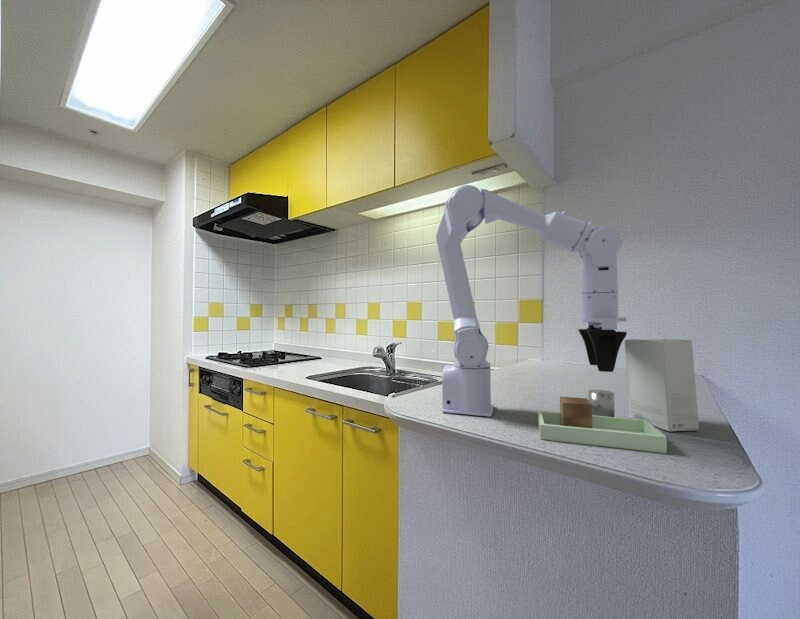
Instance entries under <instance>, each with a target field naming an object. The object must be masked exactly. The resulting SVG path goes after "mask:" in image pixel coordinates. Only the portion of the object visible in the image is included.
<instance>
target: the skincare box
mask: <svg viewBox="0 0 800 619" xmlns="http://www.w3.org/2000/svg"><path fill="white" fill-rule="evenodd" d="M624 352H625V364H626V378H627V379H626V380H627V396H628V397H627V398H628V411H629V418H630V419H642V420H647V421H648V422H649V423H650V424H651V425H653V426H654V427H655V428H658V429H661V430H664V431H667V432H677V431H678V432H679V431H680V432H689V431H690V432H691V431H699V428H700V423H699V410H698V399H697V386H696V377H695V376H696V375H695V365H694V364H695V363H694V352H693V341H692V339H682V338H681V339H676V338H674V339H673V338H648V337H647V338H635V339H633V338H629V339H624Z"/></svg>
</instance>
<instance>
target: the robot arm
mask: <svg viewBox="0 0 800 619" xmlns="http://www.w3.org/2000/svg"><path fill="white" fill-rule="evenodd" d="M570 214H571V213H570V212H569V211H567V210H563V211H562V212H558V211H554V212H551V213H548V214H545V213H541V212H540V211H537V210H535V209H532V208H530V207H527V206H525V205H522V204H520V203H518V202H515V201H513V200H511V199H508V198H506V197H503V196H501V195H499V194H497V193H494V192H492V191H491V190H488V189H485V188H480V189H479V188H478V187H477V186H475V185H471V184H465V185H461V186H459V187H458V188H456V189H455V190H454V191H453V192H452V193H451V195H450V196H449V197H448V198H447V199H446V200H445V203H444V210H443V214H442V216H441V220H440V222H439V226H438V229H437V232H436V235H435V236H436V237H435V239H436V240H435V241H436V244H437V249H438V254H439V259H440V262H441V268H442V272H443V276H444V281H445V286H446V290H447V295H448V299H449V304H450V307H451V313H452V317H453V328H454V335H455V341H454V345H453V354H454V357H455V359H456V360H455V361H454V362H453V364H452V365H451V364H449V365H448V364H447V365H445V366H444V367H443V370H442V379H441V381H442V382H441V383H442V387H441V390H442V393H441V394H442V399H441V400H442V401H441V402H442V404H441V405H442V409H441V412H442V413H448V414H449V413H450V414H458V415H469V416H479V417H492V416H493V412H494V409H495V404H494V403H492V397H491V396H492V394H491V393H492V392H491V391H492V390H491V388H492V387H491V386H492V385H491V383H492V382H491V380H492V378H491V377H492V376H491V371H492V370H491V363H490V362H488V361H487V359H486V358H487V356H488V352H489V341H488V339H487V338H486V336H485V335H484V334H483V333H482V331H481V330H482V329H481V327H480V322H479V320H478V316H477V311H476V308H475V304H474V299H473V295H472V290H471V285H470V280H469V277H468V272H467V268H466V264H465V258H464V254H463V249H462V242H463V241H464V239H465V238H466V237H467V235H468V234H469V233H470V232H472V231H473V230H475V229H476V228H477V227H479V226H480V225H481V223H482V222H483V221H484V222H485V223H484V224H490V223H494V222H496V221H498V220H500V221H504V222H507V223H510V224H513V225H517V226H519V227H523V228H525V229H528V230H531V231H535V232H537V233H538V235H539V237H540V240H541V241H543V242H545V243H548V244H550V245H553V246H555V247H559V248H561V249H563V250H566V251H569V252H572V253H577V255H578V257H579V258H580V259H581V272H580V273H581V278H580V279H581V318H580V322H581V323H586V328H578V329H577V331H578V333H579V335H580V336H581V338H582V340H583V343H584V346H585V349H586V354H587V358H588V363H589V366H597V367H596V368H597V370H598V372H604V373H605V372H608V373H613V372H614V370H615V368H616V362H617V357H618V354H619V350H620V348H621V346H622V343H623V341H625V338H626V337H627V334H628V333H627V331H618V323H620V322H627V317H619V286H618V285H619V279H618V270H619V269H618V258H617V257H618V252H619V251H620V250H621V249H622V246H623V244H624V239H623V238H621V235H620V234H619V232H617V230H616V229H615V228H613V227H611V226H609V225H601V226H600V225H597V226H596V222H594V221H592V220H591V221H589V222H587V221H584V220H582V219H578V218H576V217H573V216H571V215H570Z"/></svg>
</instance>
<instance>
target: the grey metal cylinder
mask: <svg viewBox="0 0 800 619" xmlns="http://www.w3.org/2000/svg"><path fill="white" fill-rule="evenodd" d="M588 400H589V402H590V403H591V404H592V415H595V416H607V417H616V416H615V415H616V414H615V412H616V411H615V392H613V391H610V390H605V389H589V390H588Z"/></svg>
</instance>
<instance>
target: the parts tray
mask: <svg viewBox="0 0 800 619" xmlns="http://www.w3.org/2000/svg"><path fill="white" fill-rule="evenodd" d="M537 426H538V431H539V432H538V433H539V437H540V440H544V441H554V442H562V443H563V442H564V443H573V444H582V445H588V446H589V445H590V446H599V447H601V446H602V447H608V448H616V449H617V448H618V449H625V450H626V449H627V450H634V451H635V450H636V451H643V452H654V453H662V454H667V453H668V452H667V449H668V448H667V447H668V446H667V444H668V443H667V436H666V435H665V434H664V433H662V432H661V431H660V430H659V429H657V427H655V426H653V425H651V424H650V423H649V422H648V421H647V420H642V419H631V418H630V417H629V418H627V417H617V416H615V417H607V416H595V415H592V429H591V428H581V427H570V426H560V411H557V412H556V411H547V410H537Z"/></svg>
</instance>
